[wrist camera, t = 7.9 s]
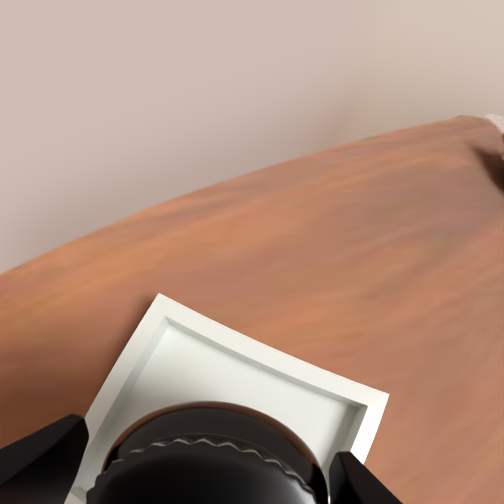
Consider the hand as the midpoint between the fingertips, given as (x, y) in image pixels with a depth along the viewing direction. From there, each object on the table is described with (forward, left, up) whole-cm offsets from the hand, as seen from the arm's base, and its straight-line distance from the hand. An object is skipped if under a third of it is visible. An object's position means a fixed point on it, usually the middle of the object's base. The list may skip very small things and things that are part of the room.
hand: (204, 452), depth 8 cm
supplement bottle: (-1, -1, -8) cm, 8 cm away
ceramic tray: (-1, 0, -9) cm, 9 cm away
